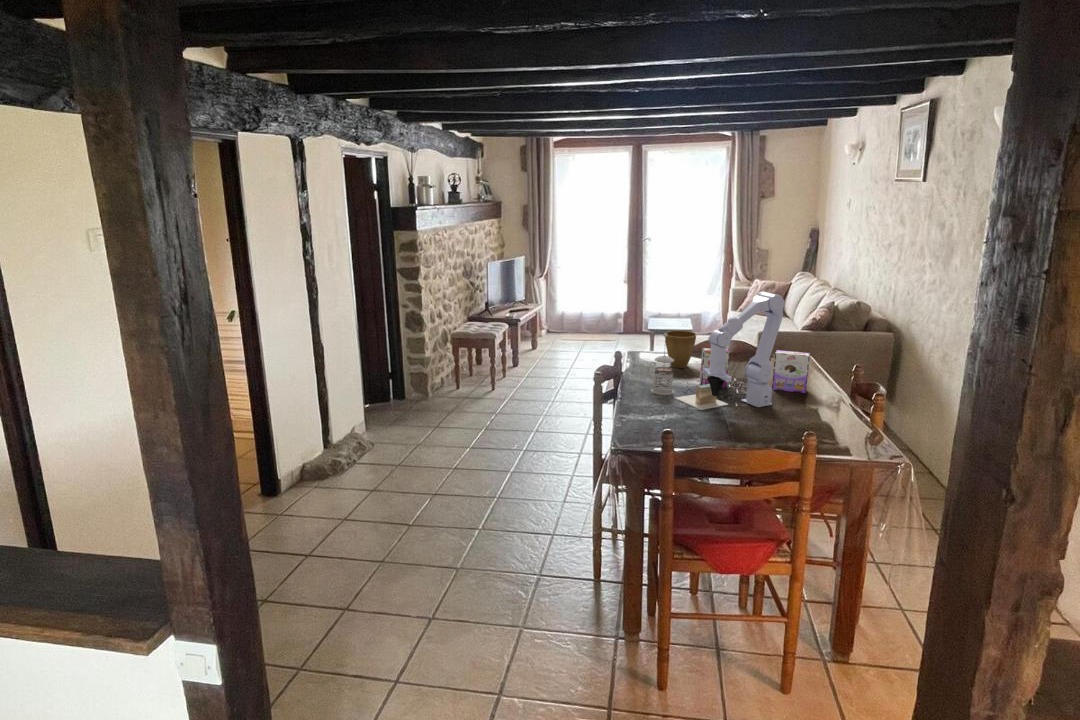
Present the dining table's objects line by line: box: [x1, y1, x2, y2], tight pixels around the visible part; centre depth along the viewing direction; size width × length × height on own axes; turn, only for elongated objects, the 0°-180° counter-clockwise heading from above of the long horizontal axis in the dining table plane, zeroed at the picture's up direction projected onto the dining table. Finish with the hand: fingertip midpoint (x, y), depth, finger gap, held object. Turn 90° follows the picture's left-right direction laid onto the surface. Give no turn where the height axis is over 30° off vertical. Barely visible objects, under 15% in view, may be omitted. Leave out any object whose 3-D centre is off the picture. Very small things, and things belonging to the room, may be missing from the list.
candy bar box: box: [699, 347, 731, 388], centre depth 288 cm, size 11×5×16 cm, turn 84°
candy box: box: [771, 349, 811, 394], centre depth 284 cm, size 14×6×16 cm, turn 65°
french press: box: [646, 332, 675, 396], centre depth 280 cm, size 10×12×25 cm
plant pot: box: [664, 330, 697, 369], centre depth 321 cm, size 15×15×16 cm
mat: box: [674, 393, 729, 411], centre depth 269 cm, size 16×14×1 cm
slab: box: [695, 384, 718, 405], centre depth 266 cm, size 3×8×7 cm, turn 117°
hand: (715, 395), depth 261 cm, fingers closed
